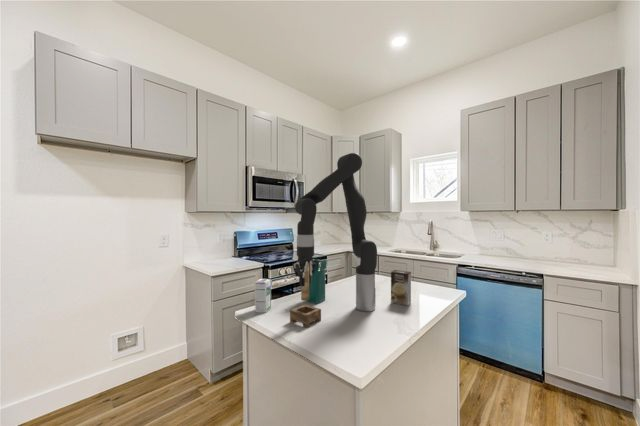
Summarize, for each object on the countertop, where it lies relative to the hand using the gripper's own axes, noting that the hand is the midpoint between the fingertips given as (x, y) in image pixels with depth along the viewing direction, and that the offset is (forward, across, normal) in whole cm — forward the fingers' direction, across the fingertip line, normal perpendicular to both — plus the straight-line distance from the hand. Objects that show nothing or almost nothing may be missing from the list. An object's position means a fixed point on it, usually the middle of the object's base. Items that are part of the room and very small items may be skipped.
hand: (305, 284), depth 114 cm
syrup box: (+16, -3, +25) cm, 30 cm away
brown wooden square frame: (+16, 0, 0) cm, 16 cm away
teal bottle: (+16, +24, +14) cm, 32 cm away
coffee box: (+15, +49, -22) cm, 56 cm away
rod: (+6, 0, 0) cm, 6 cm away
